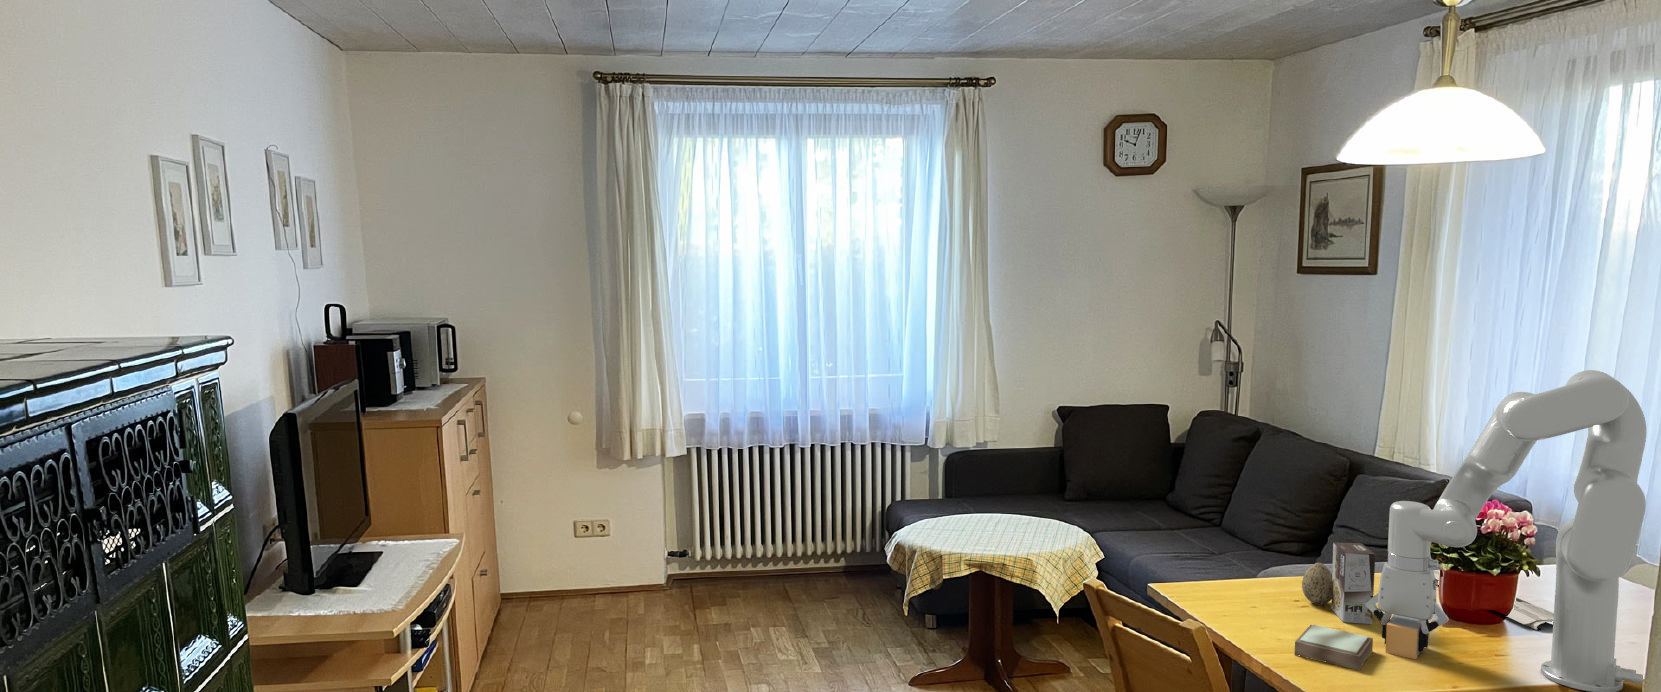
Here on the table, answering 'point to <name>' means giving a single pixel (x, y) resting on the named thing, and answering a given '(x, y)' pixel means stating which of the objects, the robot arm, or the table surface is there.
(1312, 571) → the decorative egg
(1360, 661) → the stand
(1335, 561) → the coffee box
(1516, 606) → the newspaper
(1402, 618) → the block
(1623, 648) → the table surface
